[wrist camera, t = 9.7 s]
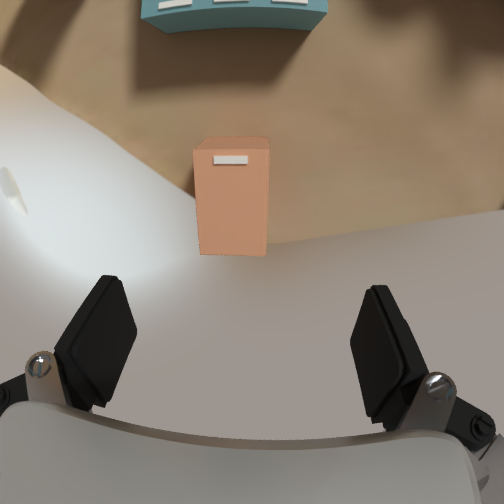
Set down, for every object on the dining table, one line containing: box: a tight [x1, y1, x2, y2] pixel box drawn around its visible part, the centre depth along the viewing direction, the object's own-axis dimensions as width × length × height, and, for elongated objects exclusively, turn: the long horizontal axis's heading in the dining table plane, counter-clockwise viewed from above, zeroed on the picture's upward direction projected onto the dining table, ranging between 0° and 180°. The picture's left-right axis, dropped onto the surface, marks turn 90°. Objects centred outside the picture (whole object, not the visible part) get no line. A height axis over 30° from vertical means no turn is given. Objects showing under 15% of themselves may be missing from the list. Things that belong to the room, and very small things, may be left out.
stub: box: [193, 137, 270, 256], centre depth 22 cm, size 5×8×6 cm, turn 179°
